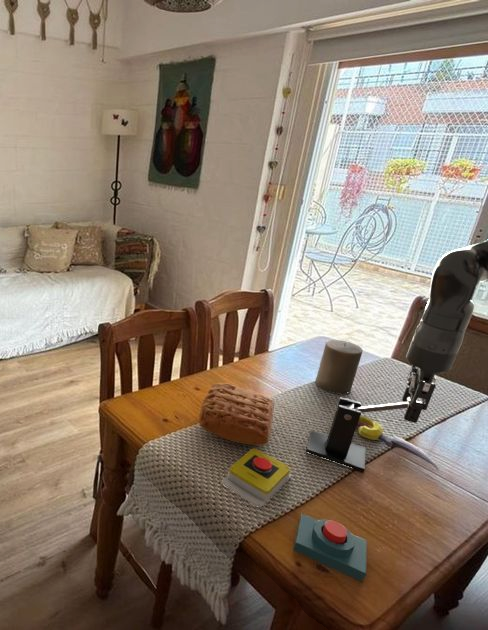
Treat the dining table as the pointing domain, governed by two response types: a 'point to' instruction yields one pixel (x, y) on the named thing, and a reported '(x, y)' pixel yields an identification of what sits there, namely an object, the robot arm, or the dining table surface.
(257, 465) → the emergency button
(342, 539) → the button
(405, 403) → the lever
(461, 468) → the dining table surface
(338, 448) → the black lever stand
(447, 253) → the robot arm
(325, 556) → the button block
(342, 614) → the dining table surface
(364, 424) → the knife
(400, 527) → the dining table surface
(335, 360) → the pillar candle
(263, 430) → the inscribed clay slab
